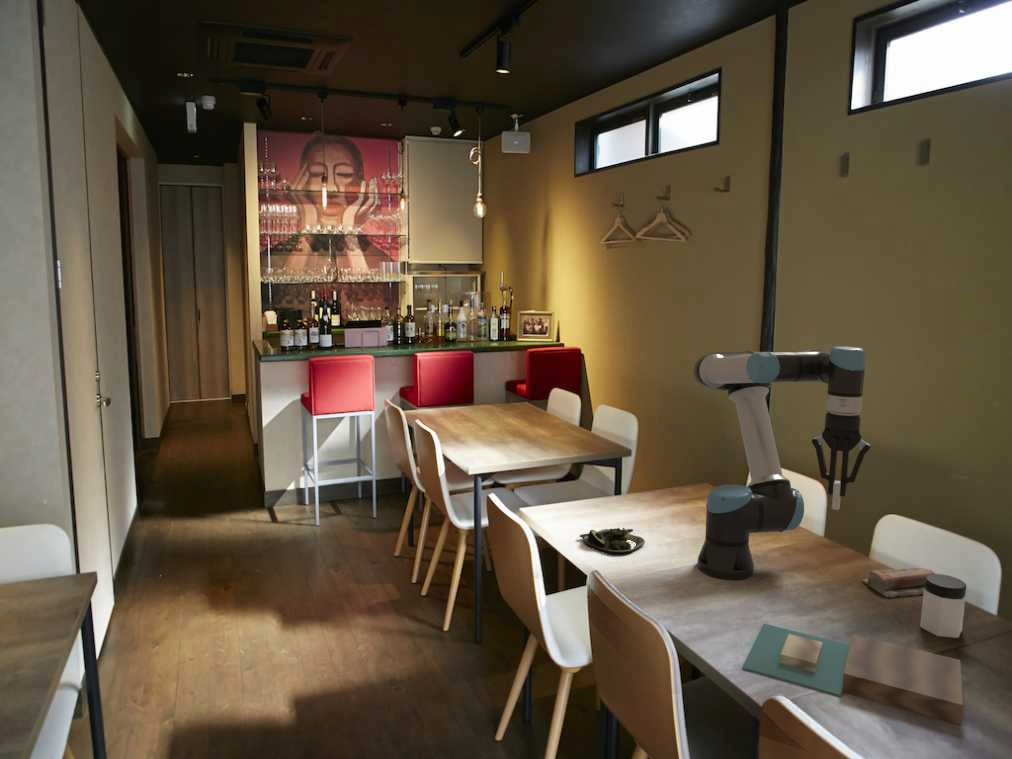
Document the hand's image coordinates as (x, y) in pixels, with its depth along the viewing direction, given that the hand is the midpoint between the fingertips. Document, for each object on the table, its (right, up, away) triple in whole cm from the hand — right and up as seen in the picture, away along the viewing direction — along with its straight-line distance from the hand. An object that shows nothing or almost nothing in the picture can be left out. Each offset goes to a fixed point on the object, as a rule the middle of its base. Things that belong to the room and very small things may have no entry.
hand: (835, 508), depth 172 cm
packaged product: (+26, -25, +18) cm, 40 cm away
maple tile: (-16, -27, -18) cm, 36 cm away
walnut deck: (0, -31, -28) cm, 41 cm away
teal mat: (-16, -29, -18) cm, 38 cm away
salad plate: (-47, -20, +46) cm, 69 cm away
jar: (+22, -28, -5) cm, 36 cm away
